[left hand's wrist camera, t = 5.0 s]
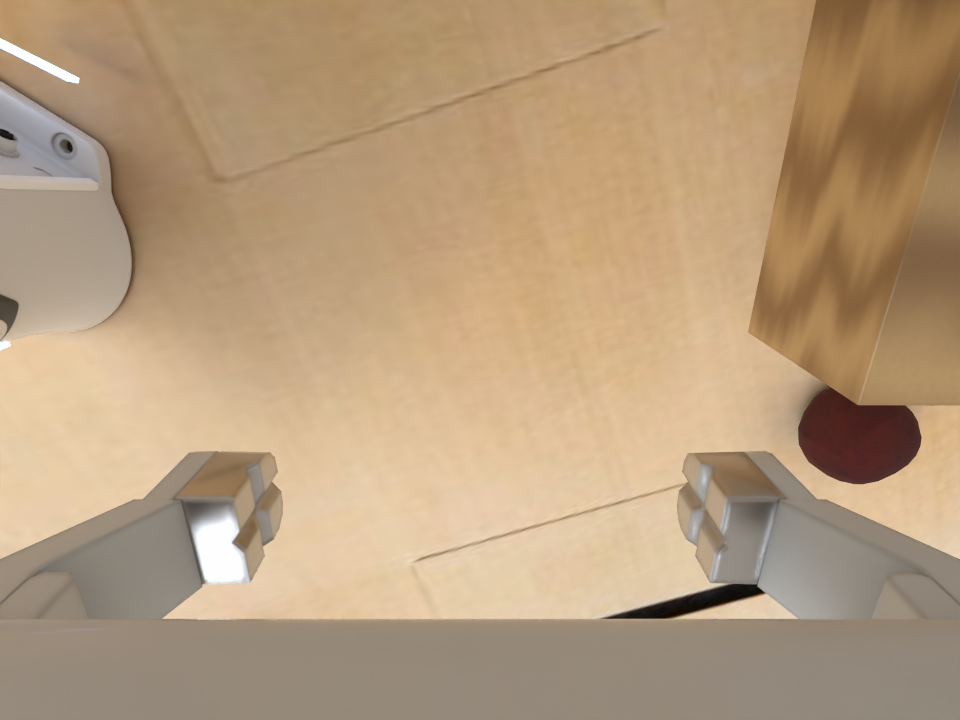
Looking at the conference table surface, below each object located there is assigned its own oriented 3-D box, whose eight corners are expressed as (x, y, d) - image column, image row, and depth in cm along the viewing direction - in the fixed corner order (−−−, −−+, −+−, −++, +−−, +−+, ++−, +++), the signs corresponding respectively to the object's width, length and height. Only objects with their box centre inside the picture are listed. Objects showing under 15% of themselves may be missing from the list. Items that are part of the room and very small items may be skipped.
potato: (890, 410, 43) (963, 455, 37) (811, 467, 45) (866, 519, 39) (843, 353, 42) (911, 390, 35) (762, 415, 44) (812, 461, 37)
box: (850, 332, 31) (1002, 406, 22) (747, 332, 31) (857, 406, 22) (974, -109, 24) (1289, -275, 14) (837, -109, 23) (1065, -276, 14)
